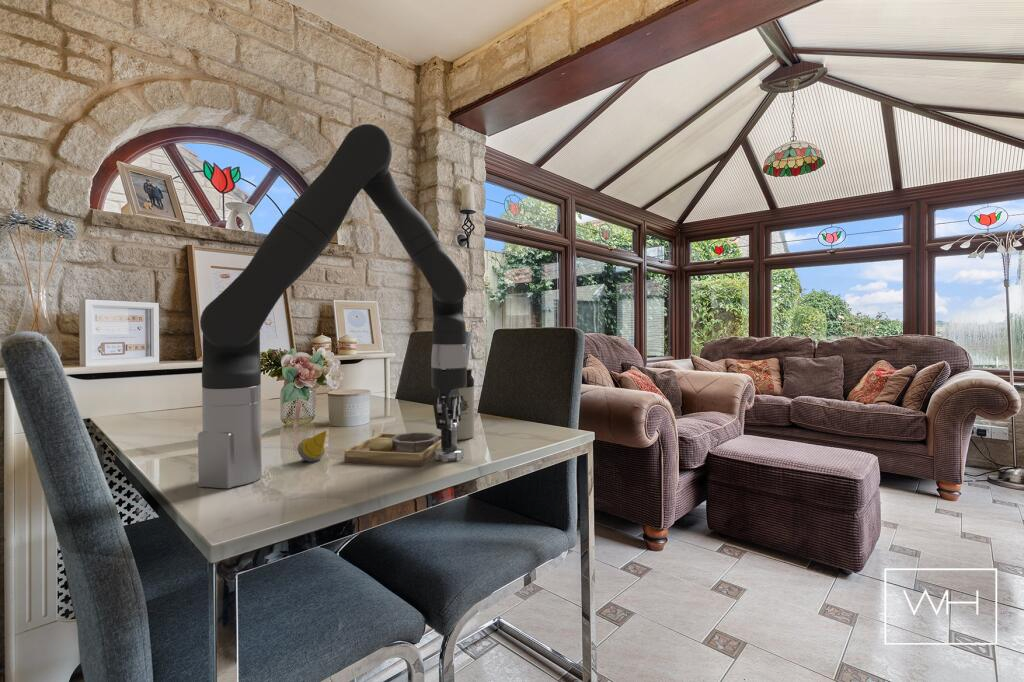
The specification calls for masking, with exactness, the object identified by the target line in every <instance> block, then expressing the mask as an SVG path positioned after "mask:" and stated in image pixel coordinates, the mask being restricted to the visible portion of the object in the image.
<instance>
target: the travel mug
mask: <svg viewBox="0 0 1024 682" xmlns="http://www.w3.org/2000/svg"><path fill="white" fill-rule="evenodd" d="M473 369H474V368H473V366H468V365H467V386H466V387H465V388H461V389H459V396H463V398H464V399H463V406H462V415H461V421H460V422H459V425H458V426H457V441H464V440H465V441H466V440H469V439H471V438H474V436H475V378H474V377H473V375H472V371H473ZM444 422H445V421H444Z"/></svg>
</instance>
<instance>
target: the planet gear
mask: <svg viewBox="0 0 1024 682" xmlns="http://www.w3.org/2000/svg"><path fill="white" fill-rule="evenodd" d="M444 423H445V422H444ZM464 453H465V450H464V449H463V448H458V440H457V422H453V423H452V447H451V448H440V449H438V450H437V451H435V457H434V459H435V460H436V461H441V463H449V462H460V461H462V458H465V455H464Z"/></svg>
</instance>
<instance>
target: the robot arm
mask: <svg viewBox="0 0 1024 682" xmlns="http://www.w3.org/2000/svg"><path fill="white" fill-rule="evenodd" d="M392 154H393V146H392V141H391V139H390V137H389V135H388V133H387V132H386V130H384V129H383V128H382V127H380V126H378V125H376V124H371V123H368V124H367V123H364V124H360V125H357V126H356V127H354V128H352V129H351V130H350V131H349V132H348V133H347V134H346V135H345V136H344V139H343V140H342V142H341V144H340V145H339V147H338V148H337V150H336V151H335V153H334V155H333V156H332V158H331V159H330V160H329V162H328V163H327V165H326V167H325V168H324V169H323V170H322V172H321V173H320V174H319V175H318V176H317V177H316V178H315V179H314V180H313V181H312V182H311V183H310V184H309V185H308V186H307V187H306V189H305V190H303V192H302V193H301V194H299V197H298V198H297V199H296V200H295V201H294V202H293V203H292V204H291V205H290V206H289V207H288V209H287V210H286V211H285V213H283V215H282V216H281V217H280V218H279V219H278V221H276V223H275V224H274V226H273V227H272V228H271V230H270V231H269V233H268V234H267V235H266V236H265V238H264V239H263V241H262V243H261V244H260V245H259V247H258V249H257V250H256V252H255V253H254V255H253V257H252V258H251V260H250V262H249V263H248V265H247V266H246V267H245V268H244V269H243V271H242V272H240V274H239V275H238V276H237V277H236V278H235V279H234V280H233V281H232V282H231V283H230V284H229V285H228V286H227V287H226V288H225V289H224V290H223V291H222V292H221V293H220V294H219V295H218V296H216V297H215V298H214V299H212V301H210V302H209V303H208V304H207V305H206V306H205V307H204V309H203V310H202V312H201V315H200V322H199V323H200V325H199V326H200V329H201V333H202V366H201V367H202V369H201V370H202V371H201V391H202V392H201V393H202V394H201V395H202V396H201V397H202V398H201V400H202V401H201V403H202V405H201V407H202V410H201V412H202V413H201V415H202V430H201V431H199V432H198V433H197V441H198V442H197V447H198V448H197V458H198V459H197V460H198V463H197V464H198V466H197V467H198V469H197V470H198V471H197V472H198V487H199V488H200V487H201V488H202V487H203V488H215V489H216V488H217V489H218V488H219V489H230V488H234V487H238V486H243V485H247V484H250V483H254V482H255V481H258V480H260V479H261V478H262V477H263V476H262V385H261V384H262V383H261V382H262V381H261V379H262V378H261V377H262V376H261V374H262V370H261V368H262V367H261V329H262V327H263V325H264V323H265V321H266V320H267V318H268V317H269V315H270V314H271V312H272V310H273V309H274V307H275V306H276V304H277V303H278V302H279V300H280V299H281V297H282V296H283V295H284V293H285V292H286V291H287V290H288V288H290V287H291V285H293V284H294V283H295V282H296V281H297V280H298V279H299V278H300V277H301V276H302V275H303V274H304V273H305V272H306V271H307V270H308V269H309V268H311V266H312V265H313V264H314V263H315V262H316V260H317V259H318V258H319V257H320V256H321V255H322V253H323V252H324V251H325V249H326V247H328V245H329V244H330V242H332V240H333V239H334V237H335V235H337V232H338V231H339V228H340V227H341V225H342V224H343V222H344V220H345V218H346V216H347V214H348V212H349V210H350V208H351V207H352V204H353V202H354V201H355V199H356V197H357V195H359V193H360V192H361V190H363V191H364V192H365V194H366V195H367V196H368V197H369V199H371V201H372V202H373V204H374V205H375V206H376V208H377V209H378V210H379V212H380V213H381V214H382V215H383V217H384V218H385V220H386V221H387V223H388V224H389V226H390V227H391V229H392V231H393V232H394V233H395V235H396V236H397V239H398V240H399V242H400V243H401V245H402V246H403V248H404V250H405V251H406V253H407V255H408V256H409V258H410V259H411V261H412V263H413V264H414V265H415V266H416V268H418V269H419V270H420V271H421V273H422V275H423V276H424V277H425V278H424V279H426V282H427V283H428V284H429V286H430V288H431V299H432V301H431V302H432V315H433V321H432V322H433V323H432V348H431V358H430V359H431V361H430V362H431V369H430V370H431V387H432V389H438V391H439V393H438V398H437V403H435V402H434V403H433V405H432V407H433V412H434V418H435V425H436V429H437V430H439V431H440V436H441V447H442V448H451V447H452V423H453V422H457V426H458V425H459V422H460V421H461V415H462V406H463V399H464V398H463V396H459V389H461V388H465V387H466V386H467V366H468V355H467V346H466V345H467V343H466V341H467V340H466V339H467V338H466V337H467V336H466V335H467V333H466V321H465V319H464V299H465V296H467V295H466V294H467V291H468V285H467V281H466V279H465V277H464V275H463V273H462V272H461V271H460V269H459V268H458V266H457V265H456V263H455V262H454V261H453V260H452V258H451V257H450V255H448V254H447V252H446V251H445V249H444V247H443V245H442V243H441V242H440V240H439V238H438V237H437V235H436V234H435V231H434V230H433V228H432V227H431V225H430V224H429V222H428V221H427V220H426V218H425V217H424V216H423V214H422V213H420V211H418V209H416V208H415V207H414V206H413V204H412V203H411V202H409V200H408V199H407V198H406V197H405V195H404V194H403V193H402V191H401V190H400V188H399V187H398V185H397V183H396V181H395V179H394V176H393V174H392V171H391V170H390V164H391V161H392V157H393V156H392ZM444 421H445V423H444Z"/></svg>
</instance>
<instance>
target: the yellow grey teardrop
mask: <svg viewBox="0 0 1024 682" xmlns="http://www.w3.org/2000/svg"><path fill="white" fill-rule="evenodd" d="M326 436H327V430H324V431H322V432H319V433H318V434H316V435H313V436H311V437H307V438H304V439H302V440H301V442H299V444H298V445H297V453H298V455H299V456H300V457H301V463H303V462H310V463H314V462H315V463H316V462H318V461H320V460H321V459H322V457H324V455H325V448H324V447H325V442H326Z"/></svg>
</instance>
